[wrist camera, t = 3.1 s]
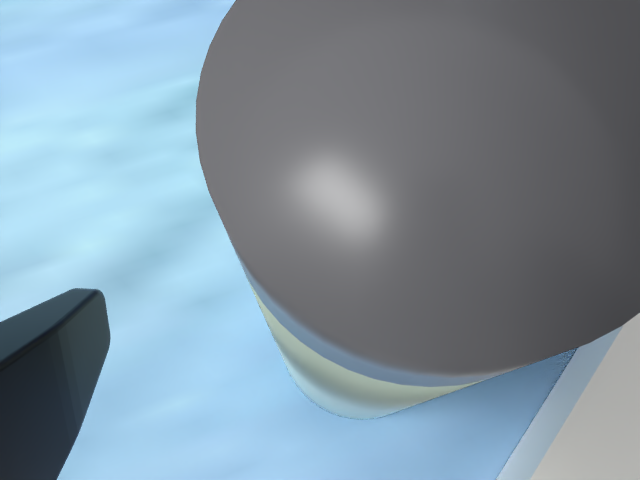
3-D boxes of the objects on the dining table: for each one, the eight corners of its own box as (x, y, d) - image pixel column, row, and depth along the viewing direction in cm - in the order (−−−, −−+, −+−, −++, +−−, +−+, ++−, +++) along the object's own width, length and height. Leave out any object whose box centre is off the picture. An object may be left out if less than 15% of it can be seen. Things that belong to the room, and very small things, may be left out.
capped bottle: (469, 322, 18) (804, 64, 6) (377, 455, 17) (547, 500, 4) (345, 232, 19) (394, -157, 7) (248, 350, 18) (86, 142, 5)
